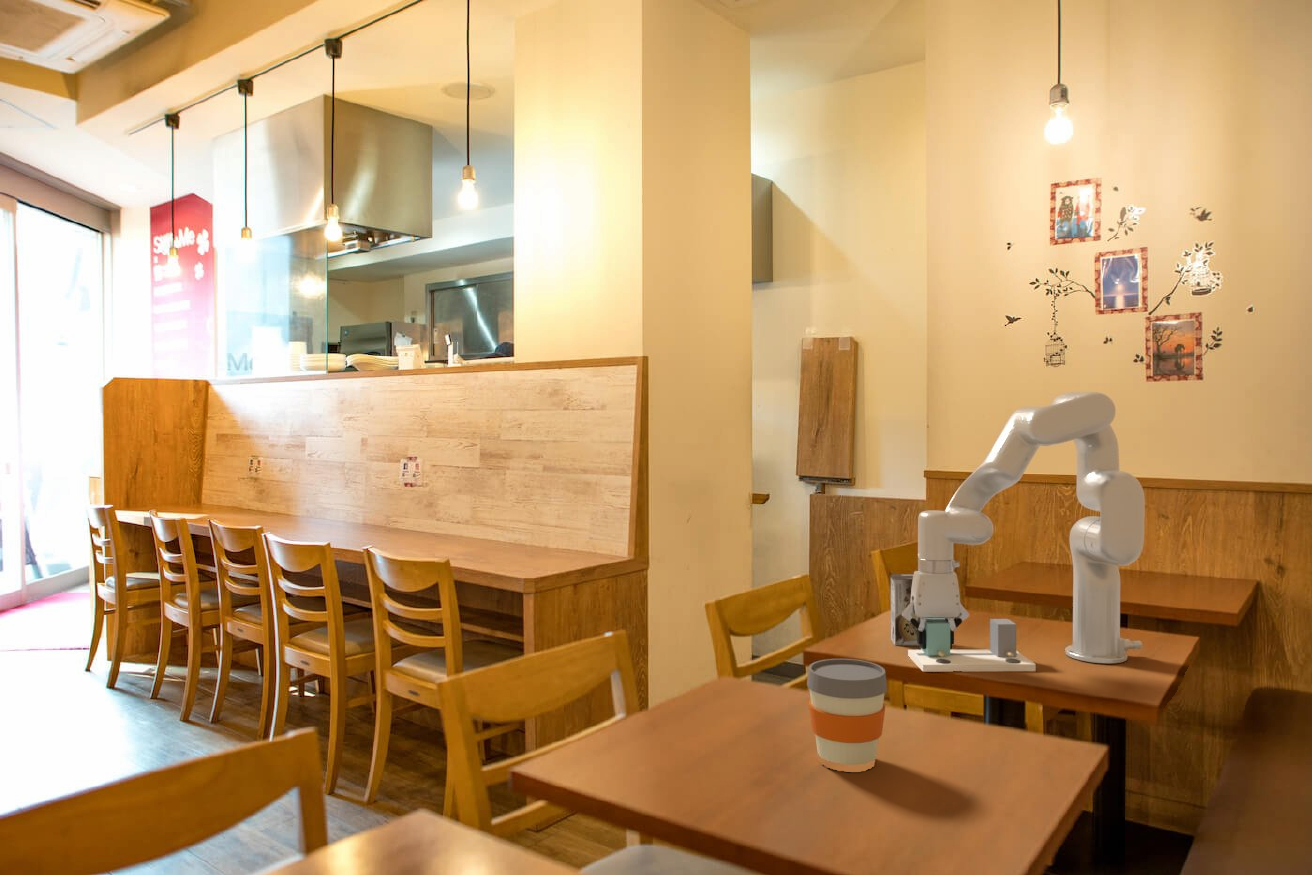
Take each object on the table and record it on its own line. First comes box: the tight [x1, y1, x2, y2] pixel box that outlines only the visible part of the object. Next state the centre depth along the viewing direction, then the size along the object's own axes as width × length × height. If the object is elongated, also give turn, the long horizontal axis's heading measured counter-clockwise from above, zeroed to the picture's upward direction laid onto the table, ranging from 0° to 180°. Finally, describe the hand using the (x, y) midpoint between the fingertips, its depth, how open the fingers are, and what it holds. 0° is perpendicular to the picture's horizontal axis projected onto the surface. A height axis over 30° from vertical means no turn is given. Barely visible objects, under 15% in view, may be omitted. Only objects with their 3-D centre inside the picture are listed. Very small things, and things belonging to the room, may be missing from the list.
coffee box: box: [890, 573, 920, 647], centre depth 217 cm, size 9×6×16 cm
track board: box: [907, 618, 1037, 673], centre depth 199 cm, size 24×12×9 cm, turn 89°
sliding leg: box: [920, 618, 951, 657], centre depth 200 cm, size 5×8×7 cm, turn 179°
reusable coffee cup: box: [806, 658, 888, 765], centre depth 145 cm, size 13×13×15 cm
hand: (935, 646), depth 202 cm, fingers closed on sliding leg, 5 cm apart
